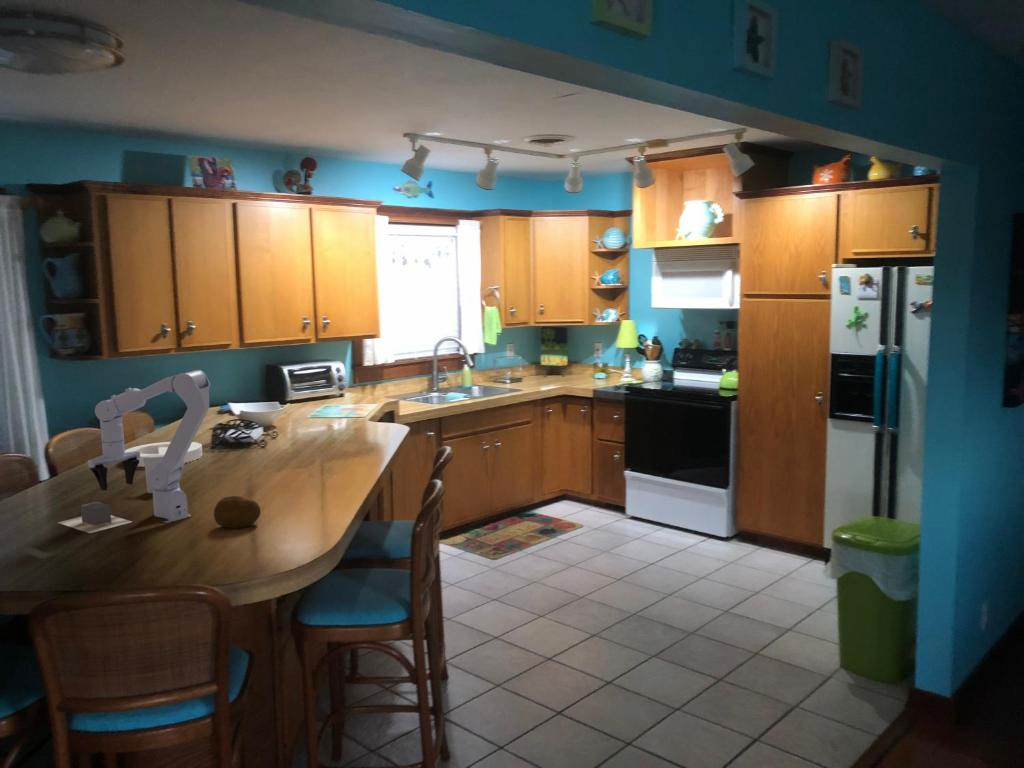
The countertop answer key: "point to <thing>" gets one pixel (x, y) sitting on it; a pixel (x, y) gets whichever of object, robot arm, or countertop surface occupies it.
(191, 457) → the white flat ring
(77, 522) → the board
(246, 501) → the potato
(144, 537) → the countertop surface
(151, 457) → the skincare box
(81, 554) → the countertop surface
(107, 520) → the block
